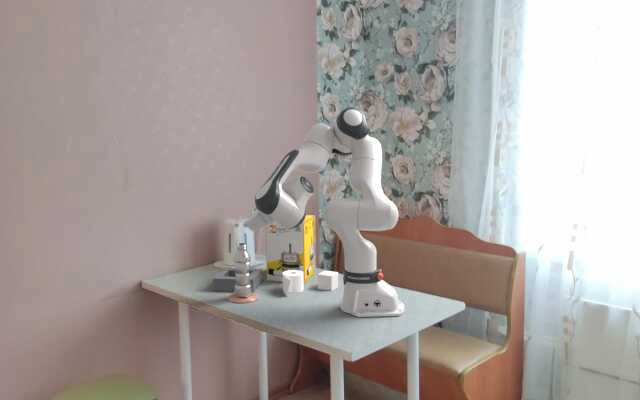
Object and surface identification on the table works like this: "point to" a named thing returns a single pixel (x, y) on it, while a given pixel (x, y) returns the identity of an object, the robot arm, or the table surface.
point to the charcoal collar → (228, 276)
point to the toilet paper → (292, 281)
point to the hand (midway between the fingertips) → (250, 217)
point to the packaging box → (291, 249)
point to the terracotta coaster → (243, 298)
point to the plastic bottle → (242, 271)
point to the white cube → (328, 280)
